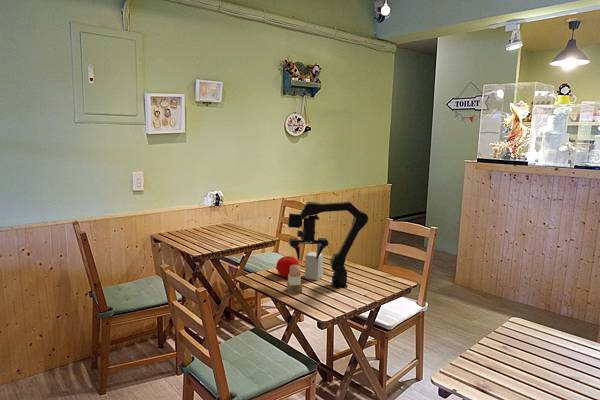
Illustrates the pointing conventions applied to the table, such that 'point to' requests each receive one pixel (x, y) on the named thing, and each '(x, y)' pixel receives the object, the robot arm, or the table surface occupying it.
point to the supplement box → (313, 266)
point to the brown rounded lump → (295, 270)
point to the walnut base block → (294, 289)
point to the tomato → (286, 265)
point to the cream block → (294, 280)
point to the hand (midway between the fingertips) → (307, 259)
